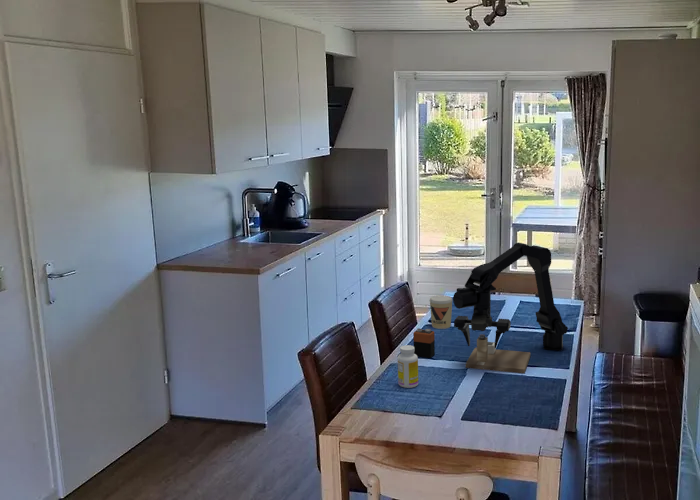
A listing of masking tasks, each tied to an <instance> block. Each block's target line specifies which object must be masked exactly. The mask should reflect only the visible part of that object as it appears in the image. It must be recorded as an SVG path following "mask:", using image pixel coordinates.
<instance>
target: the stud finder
mask: <svg viewBox="0 0 700 500" xmlns="http://www.w3.org/2000/svg"><path fill="white" fill-rule="evenodd" d="M496 349H497V347H496V348H495V341H494V342H493V341H488V354H494V353H495V351H496Z"/></svg>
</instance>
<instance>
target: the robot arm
mask: <svg viewBox="0 0 700 500" xmlns="http://www.w3.org/2000/svg"><path fill="white" fill-rule="evenodd" d="M524 256H525V257H526V259H527V261H528V264H529V265H530V267H531V269H532V270H533V271H534V276H535V283H536V289H537V294H538V299H539V309H538V311H535V317H536V321H535V322H536V323H538V325H539V326H540V329H541V330H542V331H544V333H543V334H542V346H543V349H544V350H550V351H552V350H553V351H563V349H564V342H563V341H564V335H565V334H567V333H568V329H569V327H568V326H567V325H566V324H565V323H564V322H563V319H562V316H561V313H560V311H559V310H558V309H557V307H556V306H555V301H554V297H553V296H554V294H553V289H552V283H551V282H552V281H551V277H550V270H549V269H550V266H551V264H552V252H551V250H550V249H549V248H547V247H543V246H540V245H528V244H527V243H522V242H516V243H513V245H512V246H511V247H510V248H508V249H507V250H506V251H504V252H503V253H501V254H500V255H499V256H496V258H494V259H493V260H491V261H489V262H486V263H482V264H479V265H478V266H475V267H474V268H473V269H472V270H471V273H470V275H469V277H468V278H467V280H466V282H465V284H464V287H458V288H456V292H454V294H453V296H452V300H453V301H452V304H454V307H455V308H456V309H465V308H471V307H473V310H472V311H473V313H472V315H471V319H469V316H468V315H457V316H456V318H455V319H454V320H453V327H454V328H455V329H456V328H457V330H458V331H461V332H462V334H463V336H464V339H465V341H466V345H467V347H470V346H471V336H470V335H471V332H470V326H471V330H472V331H480V332H485V331H486V330H487V328H492V327H493V328H496V330H495V339H494V342H495V348H496V349H497V347H498V343H499V340H500V338H501V335H502V334H505V333H506V332H509V331H510V329H511V326H512V325H511V320H510V319H508V318H498V319H497V320H496V321H493V317H492V316H491V315H492V314H491V309H492V307H491V297H492V296H491V292H492V291H496V290H497V287H495V286H494V285H493V283H494V282H495V281H496V280H498V277H499V274H501V272H503V271H504V270H506V269H508V268H509V267H510V266H511V265H513V264H514V263H516V261H518V260H520V259H521V258H522V257H524Z"/></svg>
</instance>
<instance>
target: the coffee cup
mask: <svg viewBox="0 0 700 500" xmlns="http://www.w3.org/2000/svg"><path fill="white" fill-rule="evenodd" d="M429 305H430V307H429V308H430V319H431V327H432V328H434V329H438V330H445V329H449V328H451V326H452V314H453V313H452V309H453V297H451V296H449V295H445V294H444V295H441V294H438V295H434V296H433V295H432V296H431V297H430V298H429Z"/></svg>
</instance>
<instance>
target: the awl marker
mask: <svg viewBox="0 0 700 500" xmlns="http://www.w3.org/2000/svg"><path fill="white" fill-rule="evenodd" d="M488 340H489V337H487V336H486V335H485V334H483V333H482V334H480V333H479V335H478V337H477V339H476V348H477V361H478V362H487V360H488V342H489V341H488Z"/></svg>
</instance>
